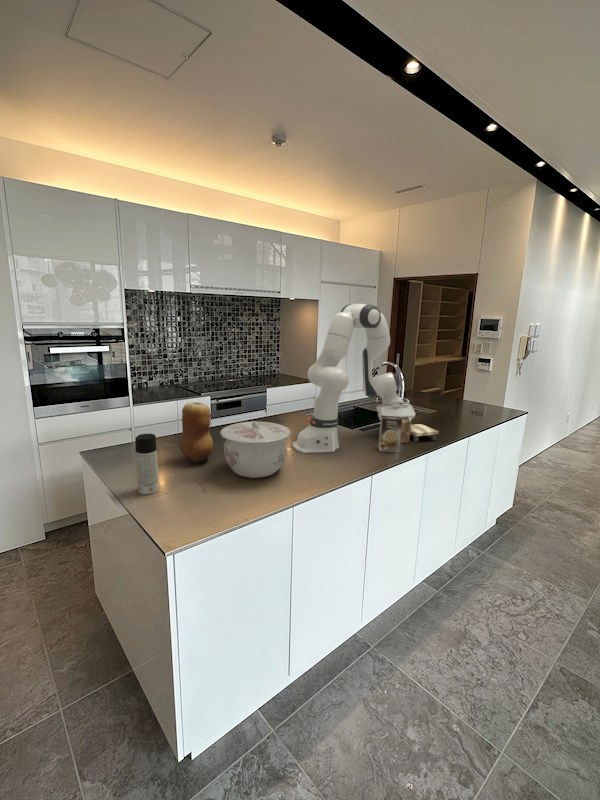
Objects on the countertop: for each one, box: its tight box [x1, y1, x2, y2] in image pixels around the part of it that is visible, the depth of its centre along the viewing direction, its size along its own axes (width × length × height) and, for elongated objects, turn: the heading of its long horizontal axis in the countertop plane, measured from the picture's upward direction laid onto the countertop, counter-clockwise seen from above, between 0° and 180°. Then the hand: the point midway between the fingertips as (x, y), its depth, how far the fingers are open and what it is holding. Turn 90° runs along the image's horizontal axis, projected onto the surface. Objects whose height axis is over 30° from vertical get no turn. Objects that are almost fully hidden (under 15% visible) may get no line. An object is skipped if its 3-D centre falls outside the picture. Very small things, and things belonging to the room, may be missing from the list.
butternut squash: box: [179, 401, 214, 464], centre depth 160 cm, size 14×13×25 cm
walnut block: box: [400, 419, 412, 444], centre depth 195 cm, size 5×5×11 cm
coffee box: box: [377, 415, 402, 453], centre depth 181 cm, size 9×6×16 cm
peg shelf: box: [410, 423, 439, 443], centre depth 202 cm, size 14×14×5 cm
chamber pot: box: [219, 420, 292, 479], centre depth 152 cm, size 28×28×21 cm
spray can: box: [134, 433, 160, 495], centre depth 132 cm, size 7×7×20 cm
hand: (401, 426), depth 196 cm, fingers open, 8 cm apart
